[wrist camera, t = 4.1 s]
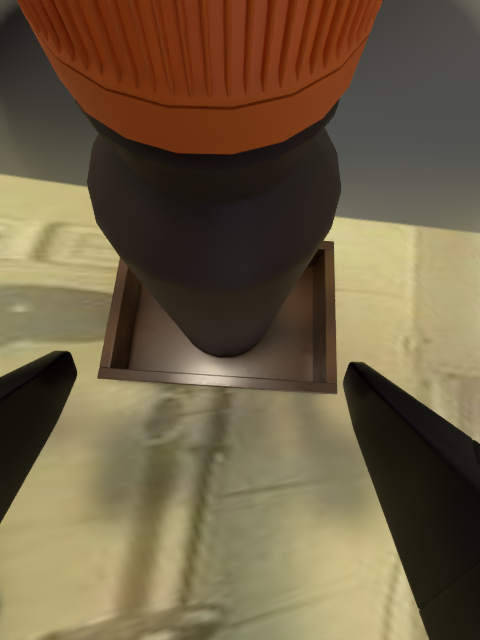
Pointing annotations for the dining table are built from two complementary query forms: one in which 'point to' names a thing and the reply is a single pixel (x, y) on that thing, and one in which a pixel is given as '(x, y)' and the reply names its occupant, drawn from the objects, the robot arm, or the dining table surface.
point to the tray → (235, 372)
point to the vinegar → (210, 143)
